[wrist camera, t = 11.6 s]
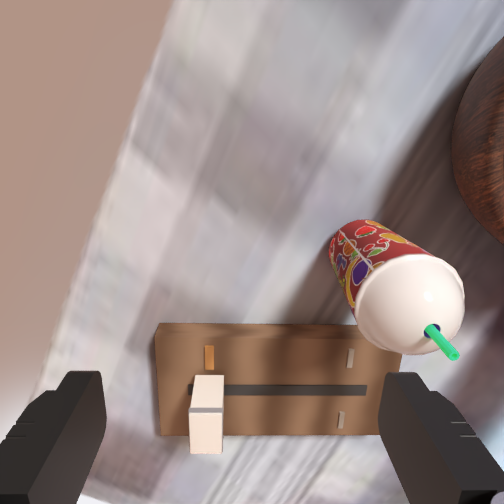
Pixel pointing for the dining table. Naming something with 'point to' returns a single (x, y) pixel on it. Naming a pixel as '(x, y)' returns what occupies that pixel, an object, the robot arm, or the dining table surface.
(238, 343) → the brown flat wooden board
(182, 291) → the dining table surface
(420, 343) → the smoothie
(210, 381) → the fader tab
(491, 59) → the wooden bowl
